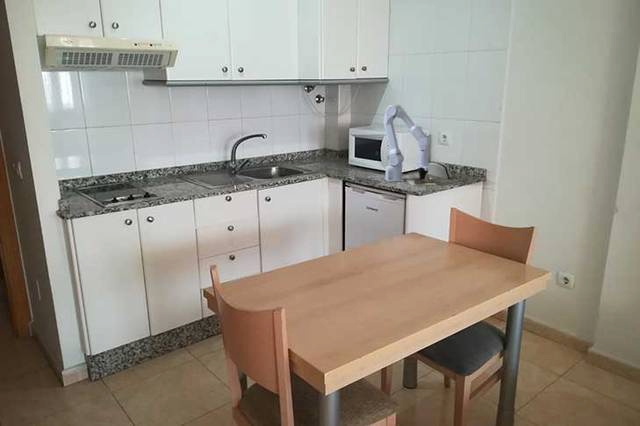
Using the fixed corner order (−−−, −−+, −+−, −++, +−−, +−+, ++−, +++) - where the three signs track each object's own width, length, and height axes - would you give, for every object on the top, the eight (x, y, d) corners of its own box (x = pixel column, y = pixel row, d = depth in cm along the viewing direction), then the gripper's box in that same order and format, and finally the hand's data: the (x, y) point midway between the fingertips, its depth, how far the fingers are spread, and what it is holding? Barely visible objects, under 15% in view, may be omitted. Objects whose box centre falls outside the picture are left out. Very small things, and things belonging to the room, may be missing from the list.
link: (433, 181, 282) (433, 179, 281) (435, 183, 278) (435, 180, 278) (413, 181, 281) (413, 179, 281) (414, 183, 278) (414, 180, 277)
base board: (412, 185, 275) (412, 184, 275) (406, 180, 287) (406, 179, 287) (436, 185, 277) (436, 184, 276) (429, 180, 289) (429, 179, 289)
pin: (430, 179, 278) (430, 178, 278) (428, 179, 280) (429, 177, 280) (433, 179, 279) (433, 178, 278) (432, 179, 280) (432, 177, 280)
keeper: (415, 184, 275) (415, 179, 275) (412, 182, 281) (412, 177, 280) (421, 184, 276) (421, 179, 275) (418, 182, 281) (418, 177, 280)
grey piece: (452, 177, 296) (449, 163, 292) (447, 181, 294) (443, 166, 290) (434, 173, 310) (431, 158, 306) (428, 176, 308) (425, 161, 304)
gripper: (434, 159, 271) (433, 183, 275) (426, 155, 285) (424, 177, 289) (422, 159, 270) (420, 183, 274) (414, 155, 284) (413, 178, 288)
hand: (422, 180), depth 281 cm, fingers closed
